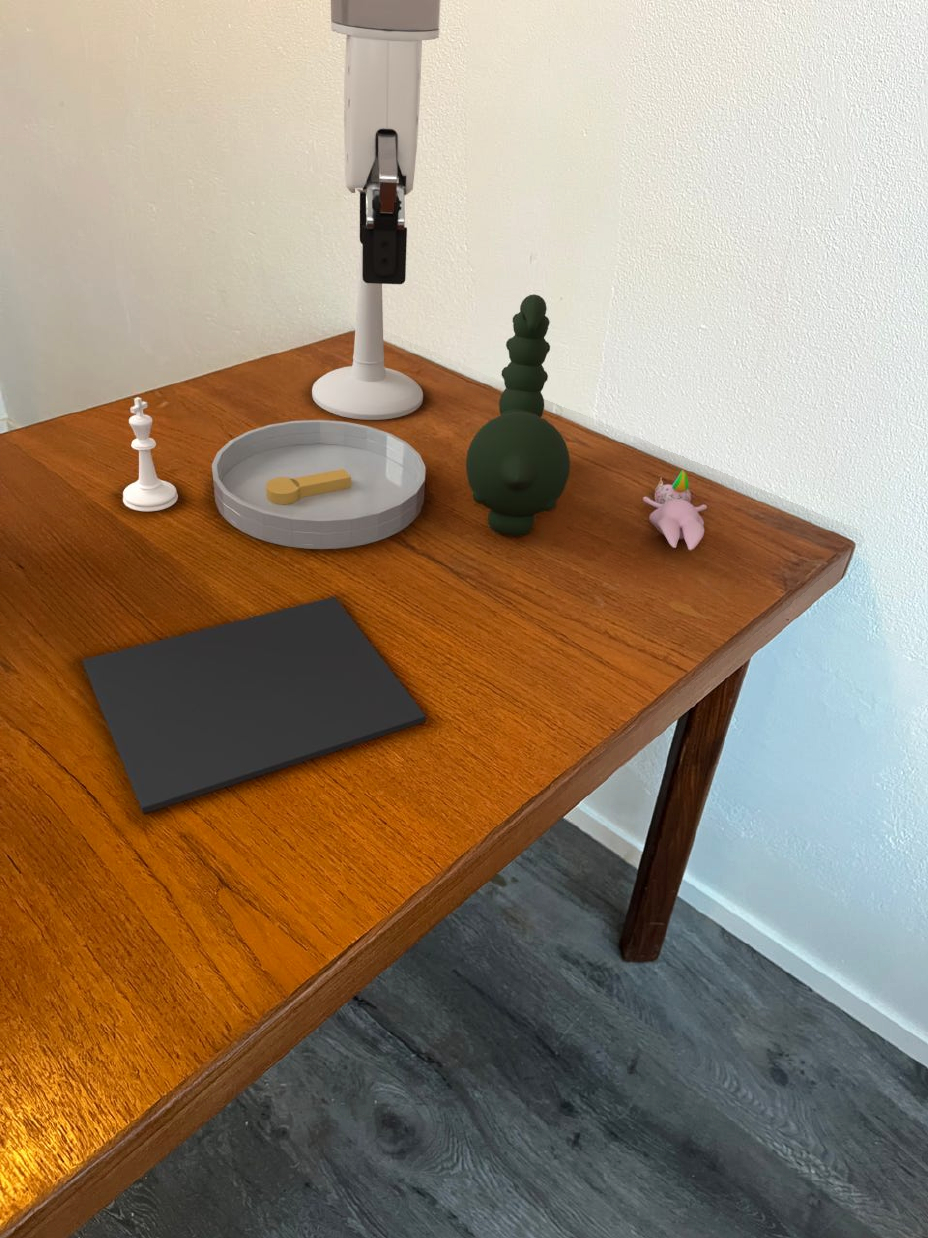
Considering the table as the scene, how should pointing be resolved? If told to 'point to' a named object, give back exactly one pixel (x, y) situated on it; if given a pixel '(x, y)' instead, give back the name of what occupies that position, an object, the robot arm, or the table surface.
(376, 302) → the candlestick
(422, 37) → the robot arm
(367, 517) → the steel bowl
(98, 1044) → the table surface
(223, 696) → the felt mat
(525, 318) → the toy figurine
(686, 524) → the pink stuffed animal
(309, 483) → the brass key
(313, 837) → the table surface
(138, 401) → the chess piece
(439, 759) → the table surface
